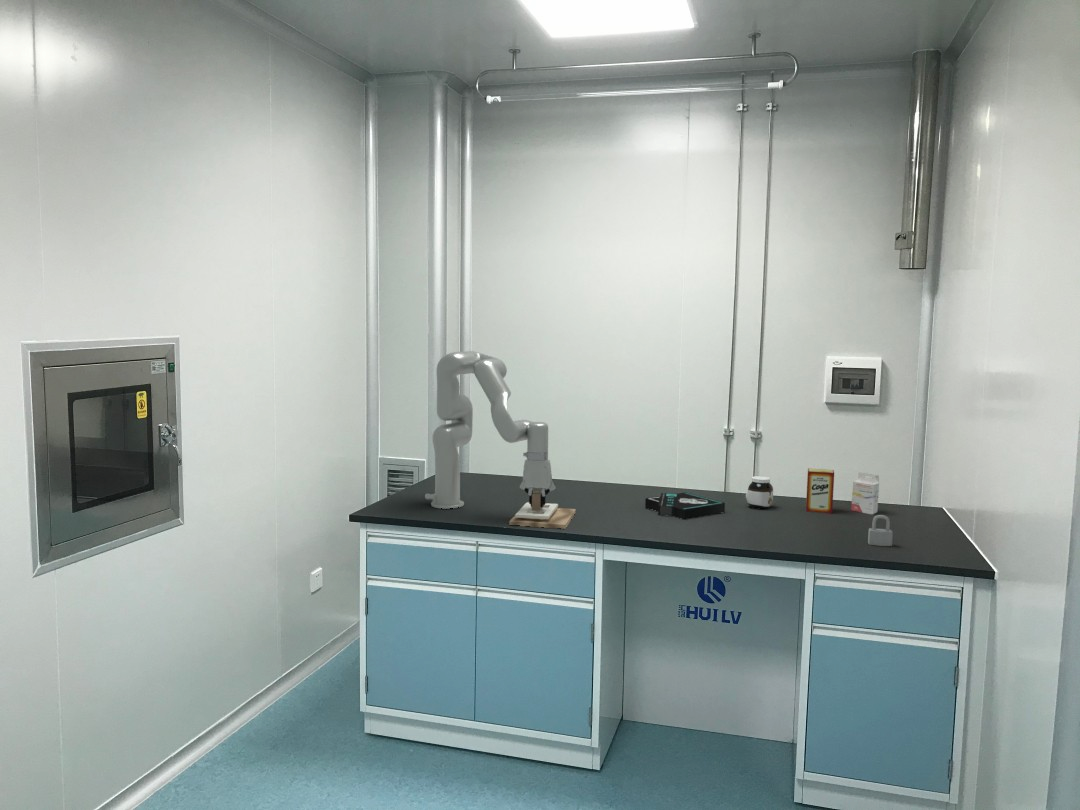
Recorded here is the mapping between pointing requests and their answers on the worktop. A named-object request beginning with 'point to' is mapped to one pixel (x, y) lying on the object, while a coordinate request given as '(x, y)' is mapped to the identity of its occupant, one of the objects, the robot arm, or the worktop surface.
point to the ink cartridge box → (865, 493)
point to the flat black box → (684, 505)
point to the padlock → (880, 533)
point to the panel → (537, 516)
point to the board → (556, 520)
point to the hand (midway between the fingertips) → (537, 505)
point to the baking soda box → (820, 490)
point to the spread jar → (760, 492)
